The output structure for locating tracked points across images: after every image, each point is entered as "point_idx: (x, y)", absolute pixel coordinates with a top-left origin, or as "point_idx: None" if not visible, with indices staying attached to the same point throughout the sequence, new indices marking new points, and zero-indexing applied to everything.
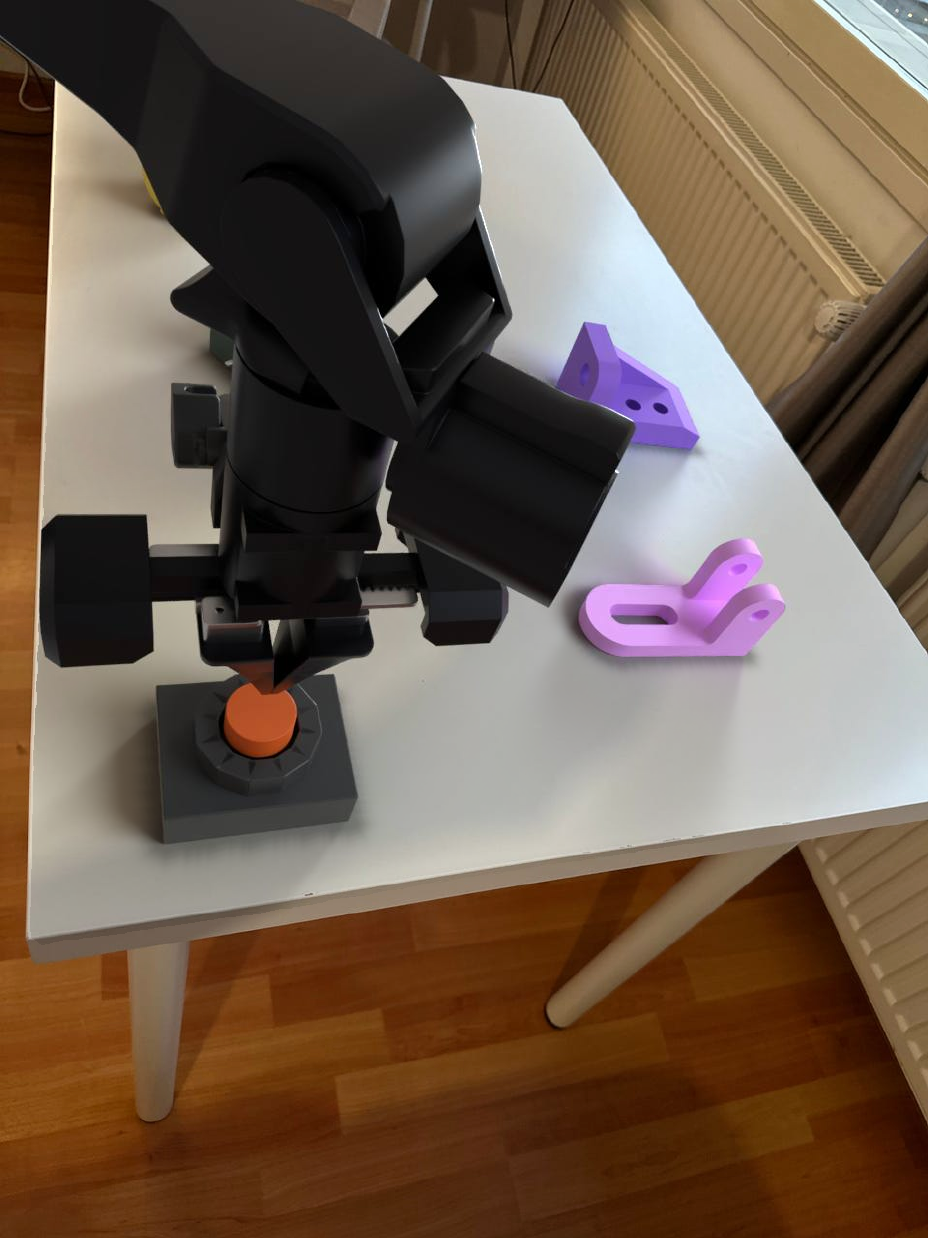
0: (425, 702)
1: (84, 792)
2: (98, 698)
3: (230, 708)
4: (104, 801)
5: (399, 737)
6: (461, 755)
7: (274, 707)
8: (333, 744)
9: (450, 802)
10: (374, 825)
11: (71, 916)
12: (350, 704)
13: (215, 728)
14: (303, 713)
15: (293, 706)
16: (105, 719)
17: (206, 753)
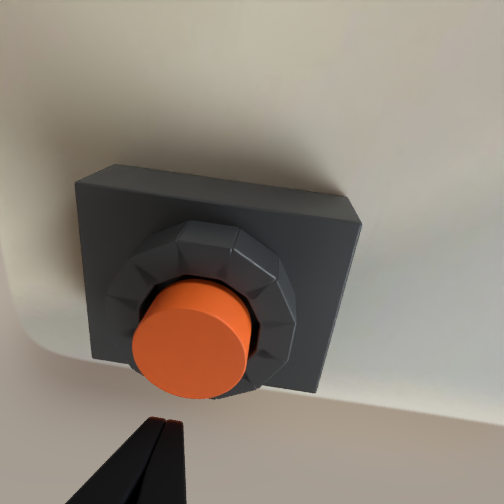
0: (493, 231)
1: (41, 244)
2: (40, 119)
3: (139, 341)
4: (63, 259)
5: (422, 271)
6: (489, 313)
7: (210, 356)
8: (311, 330)
9: (435, 357)
10: (337, 355)
11: (46, 348)
12: (380, 208)
13: (134, 320)
14: (269, 330)
15: (241, 363)
16: (53, 155)
17: (119, 350)
